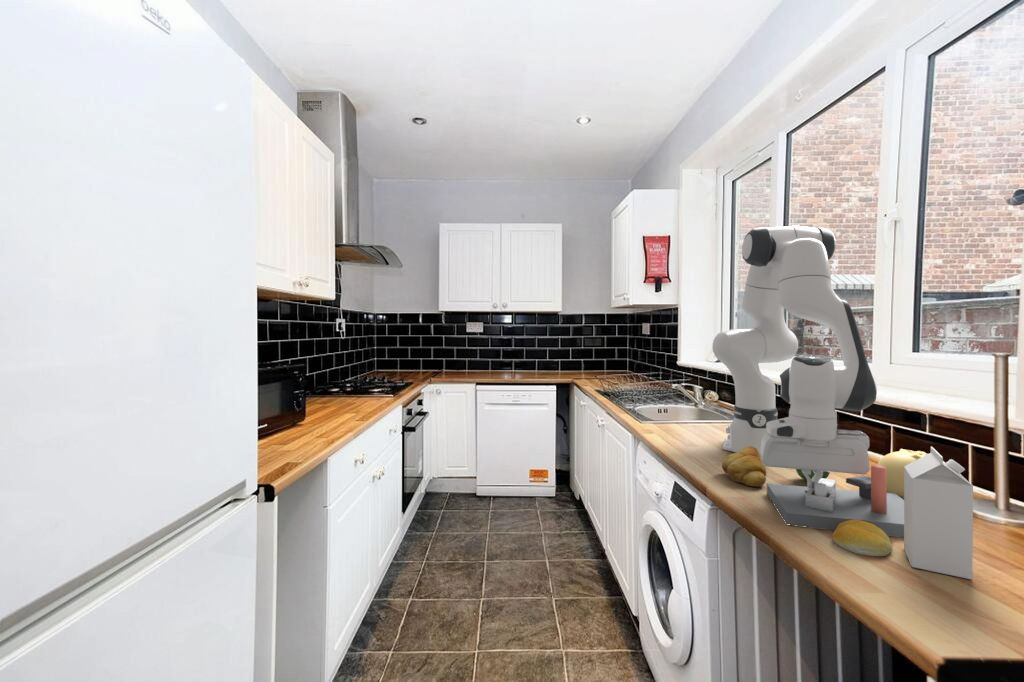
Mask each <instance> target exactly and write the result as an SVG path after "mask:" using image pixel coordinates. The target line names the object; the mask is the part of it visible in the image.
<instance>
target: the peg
mask: <svg viewBox="0 0 1024 682" xmlns="http://www.w3.org/2000/svg"><path fill="white" fill-rule="evenodd" d="M870 477H871V510H872V511H873V512H876V513H880V514H886V513H887V468H886V467H884V466H879V465H877V464H871V465H870Z"/></svg>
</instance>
